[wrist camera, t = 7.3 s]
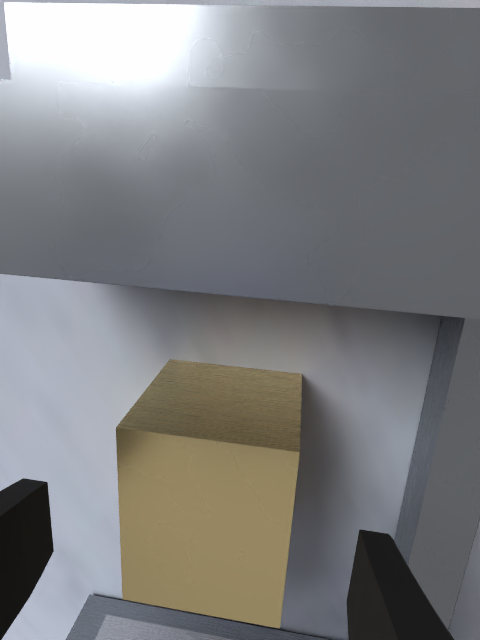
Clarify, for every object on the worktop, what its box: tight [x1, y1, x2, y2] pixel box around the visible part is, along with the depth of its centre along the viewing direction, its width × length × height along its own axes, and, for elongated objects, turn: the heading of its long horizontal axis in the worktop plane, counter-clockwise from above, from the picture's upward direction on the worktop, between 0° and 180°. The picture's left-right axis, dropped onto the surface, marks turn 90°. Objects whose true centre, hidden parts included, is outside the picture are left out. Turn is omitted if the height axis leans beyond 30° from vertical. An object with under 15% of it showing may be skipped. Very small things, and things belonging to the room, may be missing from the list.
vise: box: [0, 3, 480, 630], centre depth 12 cm, size 12×28×5 cm, turn 176°
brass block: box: [116, 359, 302, 628], centre depth 12 cm, size 4×5×4 cm
